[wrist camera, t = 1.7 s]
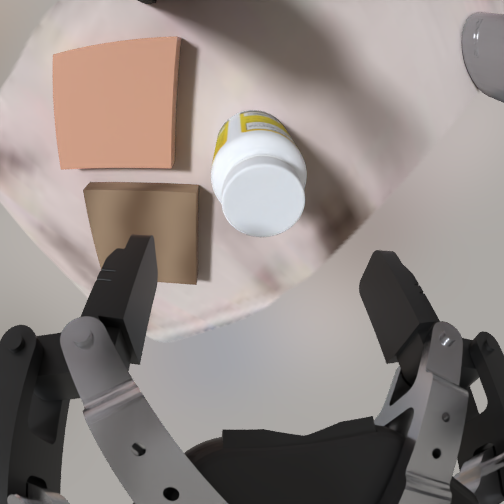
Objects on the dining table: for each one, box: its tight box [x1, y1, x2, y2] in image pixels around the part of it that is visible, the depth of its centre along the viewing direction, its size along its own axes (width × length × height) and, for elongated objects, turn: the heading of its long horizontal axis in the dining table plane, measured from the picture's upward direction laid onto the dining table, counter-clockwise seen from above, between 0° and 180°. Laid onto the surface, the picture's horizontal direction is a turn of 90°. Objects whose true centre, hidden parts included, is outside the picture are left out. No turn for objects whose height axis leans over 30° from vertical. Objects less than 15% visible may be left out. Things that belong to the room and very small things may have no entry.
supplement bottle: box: [211, 110, 307, 237], centre depth 17 cm, size 5×5×10 cm
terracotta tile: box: [53, 37, 181, 170], centre depth 17 cm, size 10×10×2 cm
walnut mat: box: [83, 182, 199, 285], centre depth 25 cm, size 10×10×2 cm
